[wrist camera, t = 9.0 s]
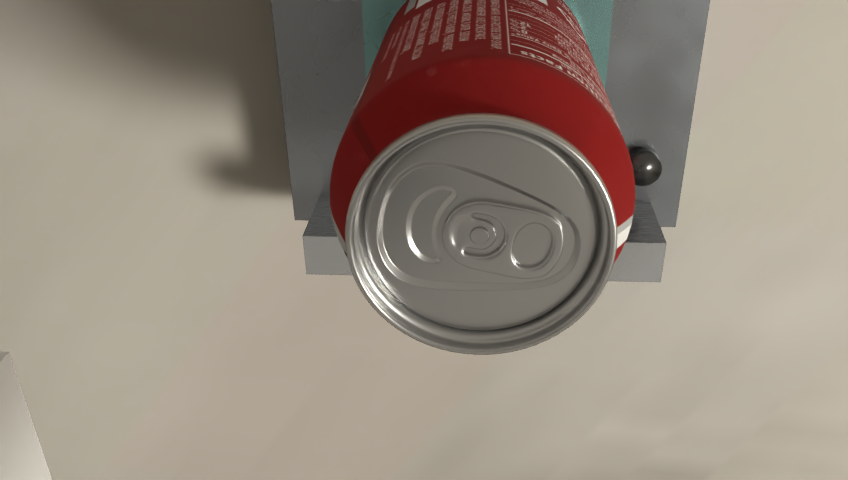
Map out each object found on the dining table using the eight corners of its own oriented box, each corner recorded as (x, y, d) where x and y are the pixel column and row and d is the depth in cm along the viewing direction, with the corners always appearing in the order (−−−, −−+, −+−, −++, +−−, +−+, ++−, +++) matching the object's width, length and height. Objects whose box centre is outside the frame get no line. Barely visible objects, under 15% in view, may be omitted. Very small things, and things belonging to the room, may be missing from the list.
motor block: (309, 201, 33) (278, 273, 28) (274, -155, 26) (225, -141, 22) (661, 207, 32) (691, 283, 27) (713, -162, 25) (764, -149, 21)
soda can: (400, -60, 25) (337, 50, 15) (613, -15, 25) (700, 126, 15) (367, 139, 28) (296, 345, 18) (555, 178, 29) (593, 403, 18)
